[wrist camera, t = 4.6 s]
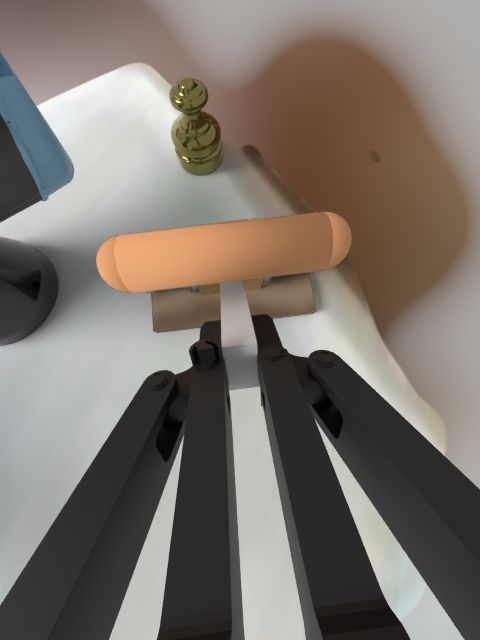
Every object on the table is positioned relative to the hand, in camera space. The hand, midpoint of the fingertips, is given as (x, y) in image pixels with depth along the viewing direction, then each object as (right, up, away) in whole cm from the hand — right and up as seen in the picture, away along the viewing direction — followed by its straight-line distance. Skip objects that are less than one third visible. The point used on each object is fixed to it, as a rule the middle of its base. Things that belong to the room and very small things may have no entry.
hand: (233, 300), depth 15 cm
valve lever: (-1, +8, +9) cm, 12 cm away
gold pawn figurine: (-6, +26, +22) cm, 34 cm away
